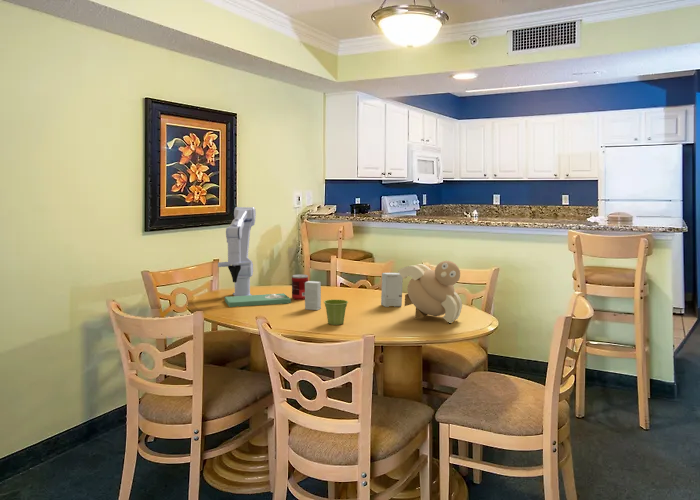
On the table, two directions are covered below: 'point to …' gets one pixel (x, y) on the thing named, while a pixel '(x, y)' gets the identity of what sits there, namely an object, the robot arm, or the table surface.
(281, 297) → the green
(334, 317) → the plant pot
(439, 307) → the chick figurine
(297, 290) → the canned food
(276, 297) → the ball
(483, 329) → the table surface
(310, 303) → the skincare box
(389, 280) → the skincare box
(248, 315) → the table surface
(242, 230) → the robot arm
